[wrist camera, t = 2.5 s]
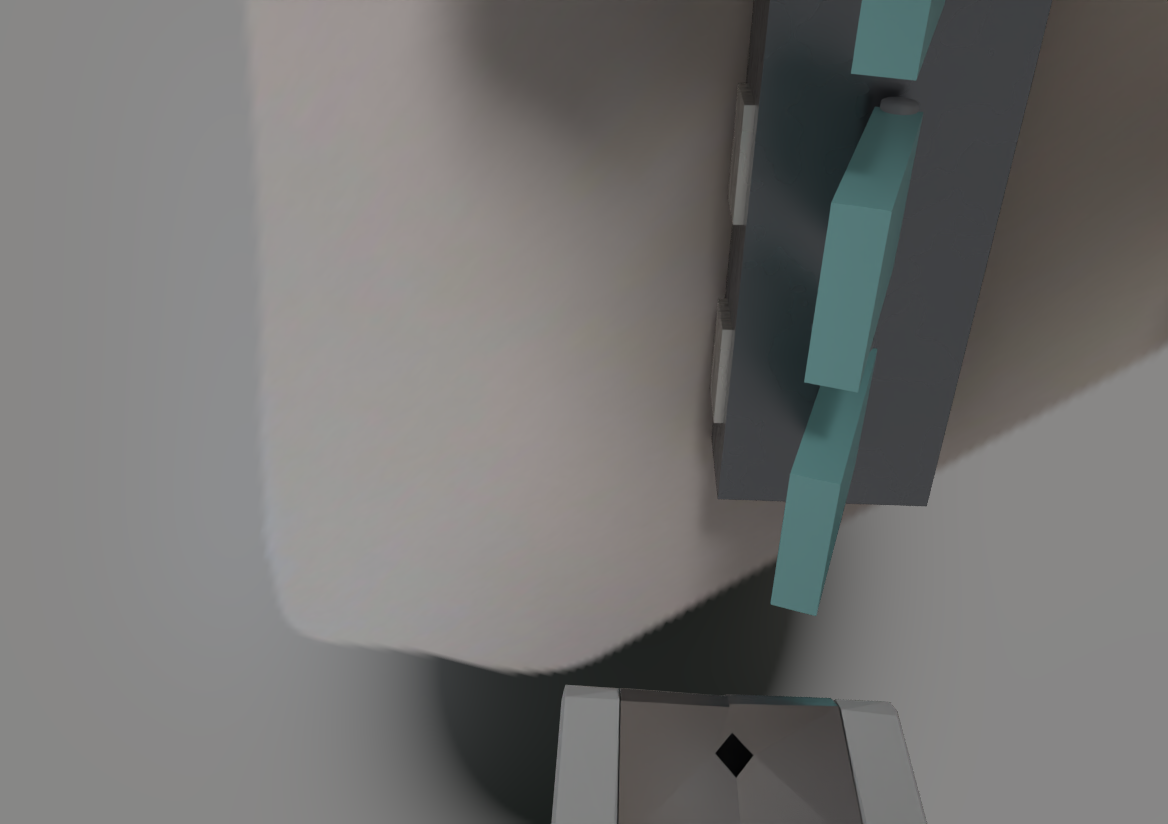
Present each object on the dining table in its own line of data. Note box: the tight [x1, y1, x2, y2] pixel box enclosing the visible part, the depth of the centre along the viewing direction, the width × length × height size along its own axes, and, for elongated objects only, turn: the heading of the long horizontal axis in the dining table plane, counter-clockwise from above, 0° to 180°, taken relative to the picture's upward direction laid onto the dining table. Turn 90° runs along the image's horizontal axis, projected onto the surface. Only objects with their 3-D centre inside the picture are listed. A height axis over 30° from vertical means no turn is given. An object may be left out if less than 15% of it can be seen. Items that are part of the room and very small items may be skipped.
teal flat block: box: [771, 340, 877, 616], centre depth 33 cm, size 5×1×8 cm, turn 179°
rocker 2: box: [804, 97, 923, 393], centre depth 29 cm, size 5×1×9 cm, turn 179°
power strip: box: [710, 0, 1052, 506], centre depth 34 cm, size 27×8×4 cm, turn 179°
